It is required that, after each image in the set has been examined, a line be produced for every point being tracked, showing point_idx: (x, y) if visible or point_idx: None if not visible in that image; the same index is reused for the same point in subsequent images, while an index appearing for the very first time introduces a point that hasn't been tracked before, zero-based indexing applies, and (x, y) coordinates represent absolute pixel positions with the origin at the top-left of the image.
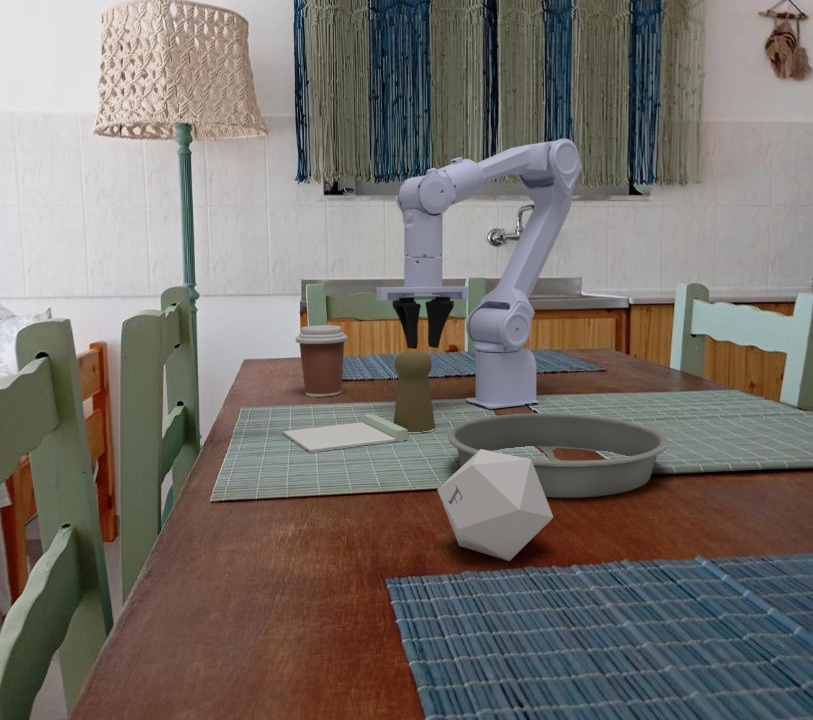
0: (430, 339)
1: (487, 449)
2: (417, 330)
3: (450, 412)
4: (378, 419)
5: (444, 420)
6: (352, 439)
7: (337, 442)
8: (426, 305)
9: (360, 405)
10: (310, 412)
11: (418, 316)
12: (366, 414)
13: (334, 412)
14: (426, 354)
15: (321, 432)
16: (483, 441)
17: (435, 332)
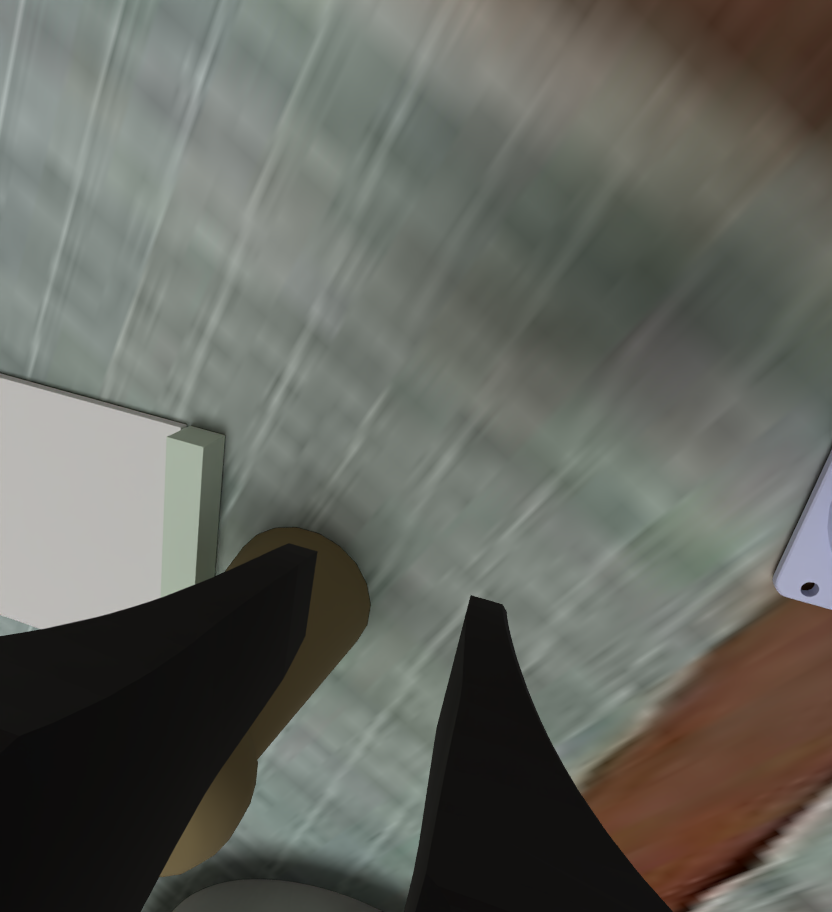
0: (454, 658)
1: (298, 891)
2: (227, 759)
3: (600, 487)
4: (177, 540)
5: (468, 576)
6: (69, 591)
7: (25, 589)
8: (423, 870)
9: (377, 14)
10: (105, 26)
11: (141, 903)
12: (178, 442)
13: (194, 109)
14: (177, 869)
15: (19, 458)
16: (279, 907)
17: (430, 778)
